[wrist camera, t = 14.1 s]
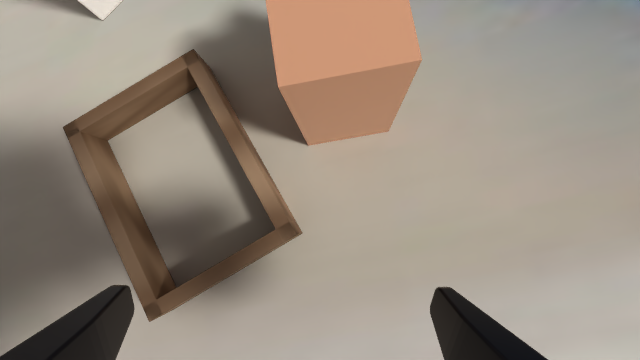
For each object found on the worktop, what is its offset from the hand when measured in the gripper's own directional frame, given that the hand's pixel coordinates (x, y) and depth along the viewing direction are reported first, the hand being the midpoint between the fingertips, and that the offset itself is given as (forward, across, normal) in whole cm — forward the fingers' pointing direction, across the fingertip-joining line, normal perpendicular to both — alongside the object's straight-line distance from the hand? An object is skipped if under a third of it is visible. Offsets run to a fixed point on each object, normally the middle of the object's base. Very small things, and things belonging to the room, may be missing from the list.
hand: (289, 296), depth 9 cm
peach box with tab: (+17, -3, -4) cm, 18 cm away
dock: (+15, +8, +3) cm, 17 cm away
